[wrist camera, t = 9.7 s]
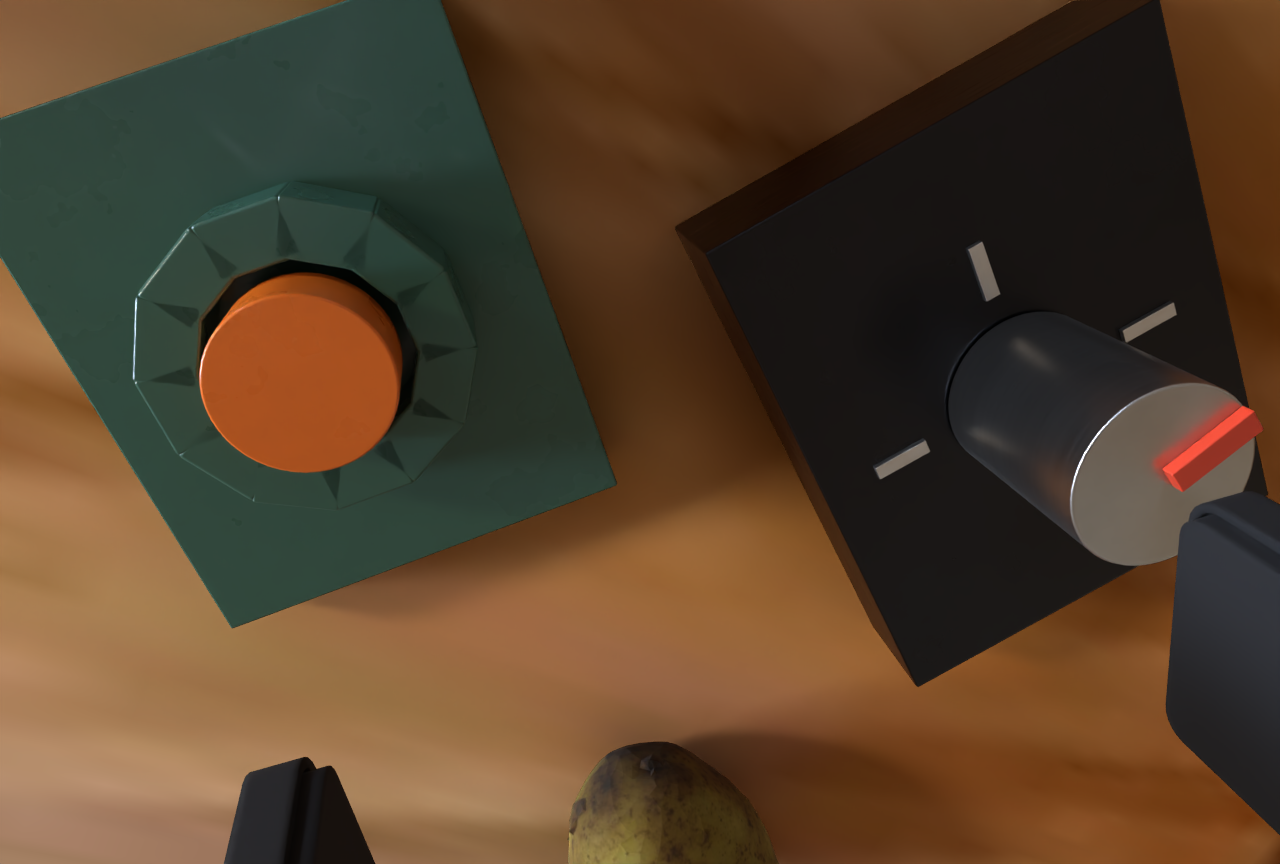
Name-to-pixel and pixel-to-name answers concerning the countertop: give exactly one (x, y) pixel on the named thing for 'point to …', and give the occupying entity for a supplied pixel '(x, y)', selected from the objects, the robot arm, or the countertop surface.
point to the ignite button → (303, 373)
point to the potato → (663, 812)
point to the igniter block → (301, 242)
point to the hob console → (966, 305)
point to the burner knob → (1099, 433)
